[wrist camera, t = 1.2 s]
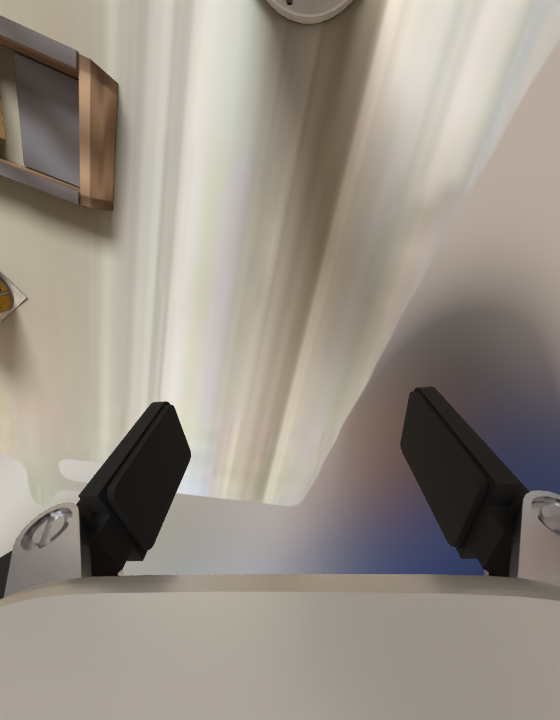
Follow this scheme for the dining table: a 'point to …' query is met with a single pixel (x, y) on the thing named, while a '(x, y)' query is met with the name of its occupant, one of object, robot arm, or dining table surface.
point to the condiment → (8, 297)
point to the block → (1, 123)
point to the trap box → (62, 119)
